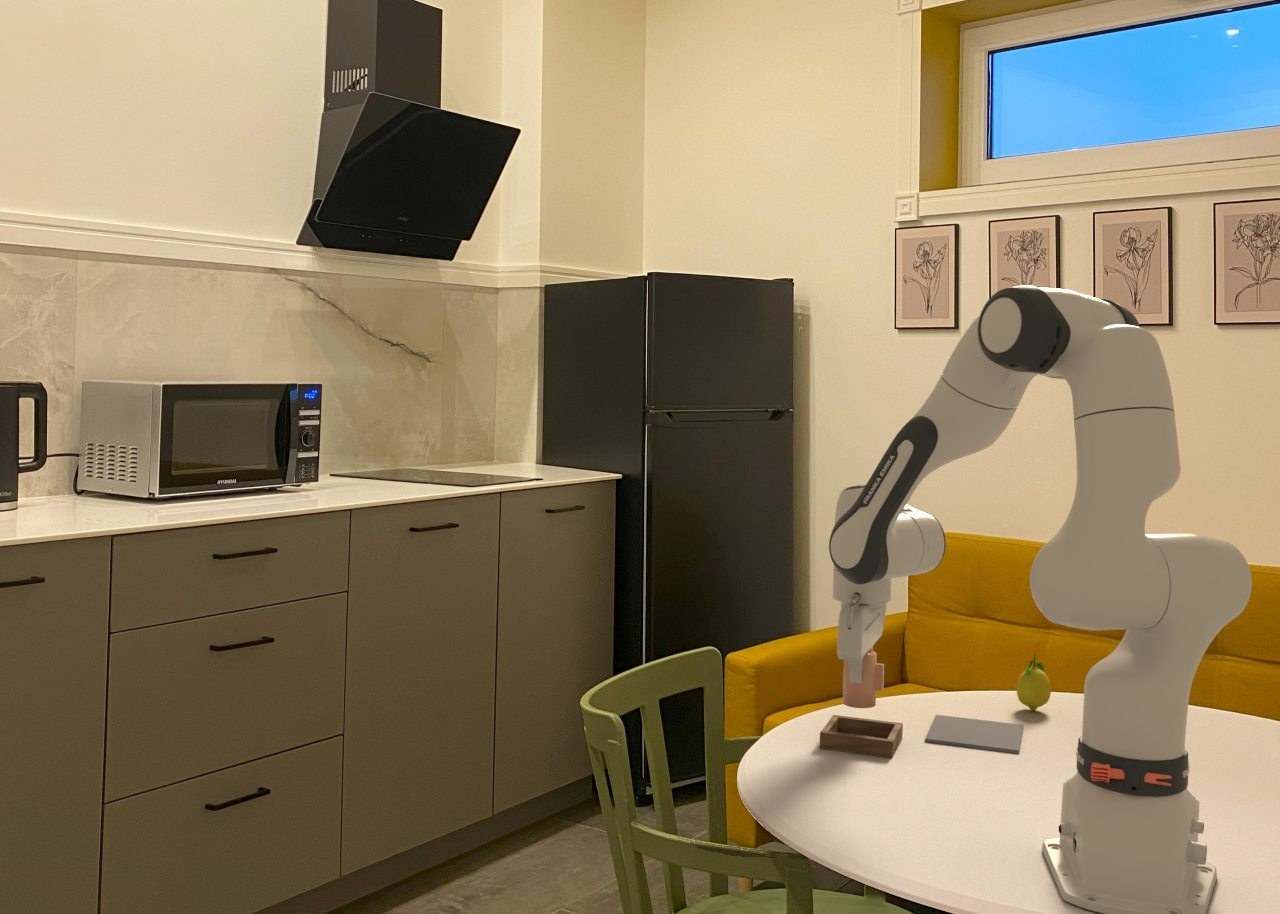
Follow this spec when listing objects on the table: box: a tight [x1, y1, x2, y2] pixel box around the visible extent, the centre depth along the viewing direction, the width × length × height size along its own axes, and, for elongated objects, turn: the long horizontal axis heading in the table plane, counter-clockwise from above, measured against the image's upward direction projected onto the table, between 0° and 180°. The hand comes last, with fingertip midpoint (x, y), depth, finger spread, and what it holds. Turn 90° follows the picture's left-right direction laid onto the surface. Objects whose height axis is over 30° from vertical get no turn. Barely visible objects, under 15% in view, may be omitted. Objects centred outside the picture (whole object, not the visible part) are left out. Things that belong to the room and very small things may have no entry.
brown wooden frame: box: [819, 714, 904, 759], centre depth 177 cm, size 10×11×2 cm
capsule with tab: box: [842, 650, 885, 709], centre depth 176 cm, size 5×6×8 cm
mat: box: [924, 714, 1025, 754], centre depth 182 cm, size 14×14×1 cm
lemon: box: [1016, 653, 1052, 712], centre depth 196 cm, size 7×6×10 cm
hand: (859, 677), depth 176 cm, fingers closed on capsule with tab, 5 cm apart
